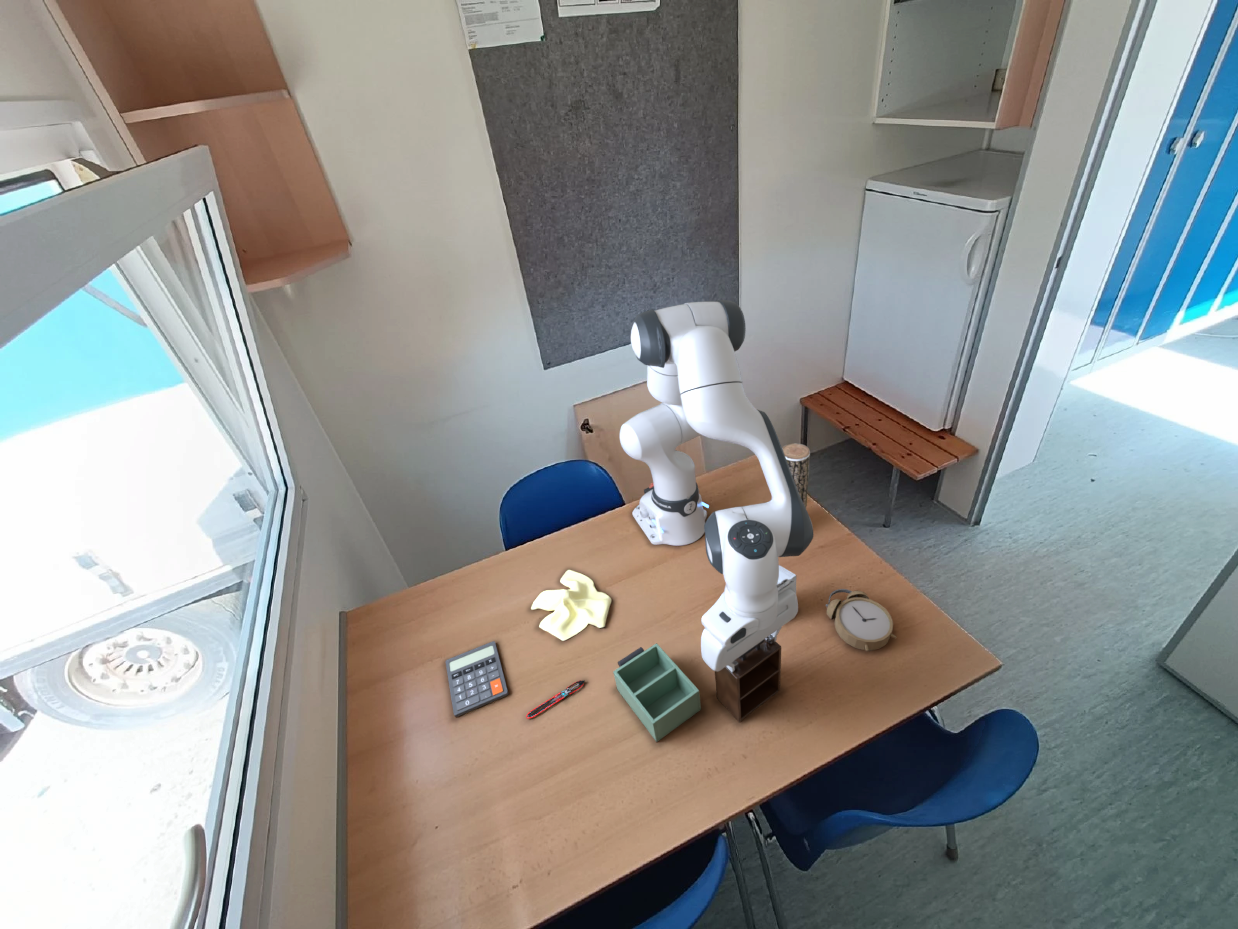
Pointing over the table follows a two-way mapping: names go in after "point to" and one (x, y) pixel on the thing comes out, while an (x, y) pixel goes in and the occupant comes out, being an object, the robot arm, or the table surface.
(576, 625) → the cloth
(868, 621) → the alarm clock
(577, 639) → the table surface
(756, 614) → the robot arm
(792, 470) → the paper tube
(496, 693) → the calculator
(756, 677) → the walnut shelf
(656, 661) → the sage shelf
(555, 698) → the pen
